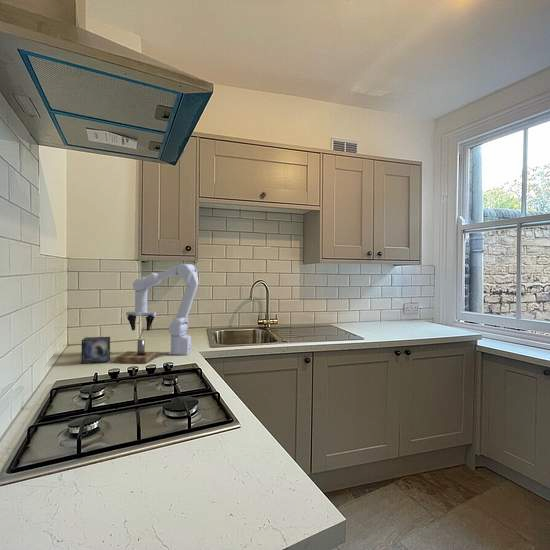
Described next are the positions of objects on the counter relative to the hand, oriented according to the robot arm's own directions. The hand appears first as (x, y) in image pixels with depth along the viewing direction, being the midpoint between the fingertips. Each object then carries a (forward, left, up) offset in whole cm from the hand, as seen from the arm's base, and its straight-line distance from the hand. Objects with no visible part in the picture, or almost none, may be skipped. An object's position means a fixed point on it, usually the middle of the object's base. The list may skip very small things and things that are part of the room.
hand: (140, 330), depth 174 cm
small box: (+10, +22, -11) cm, 26 cm away
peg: (-8, +17, -10) cm, 21 cm away
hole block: (-6, +17, -10) cm, 21 cm away
